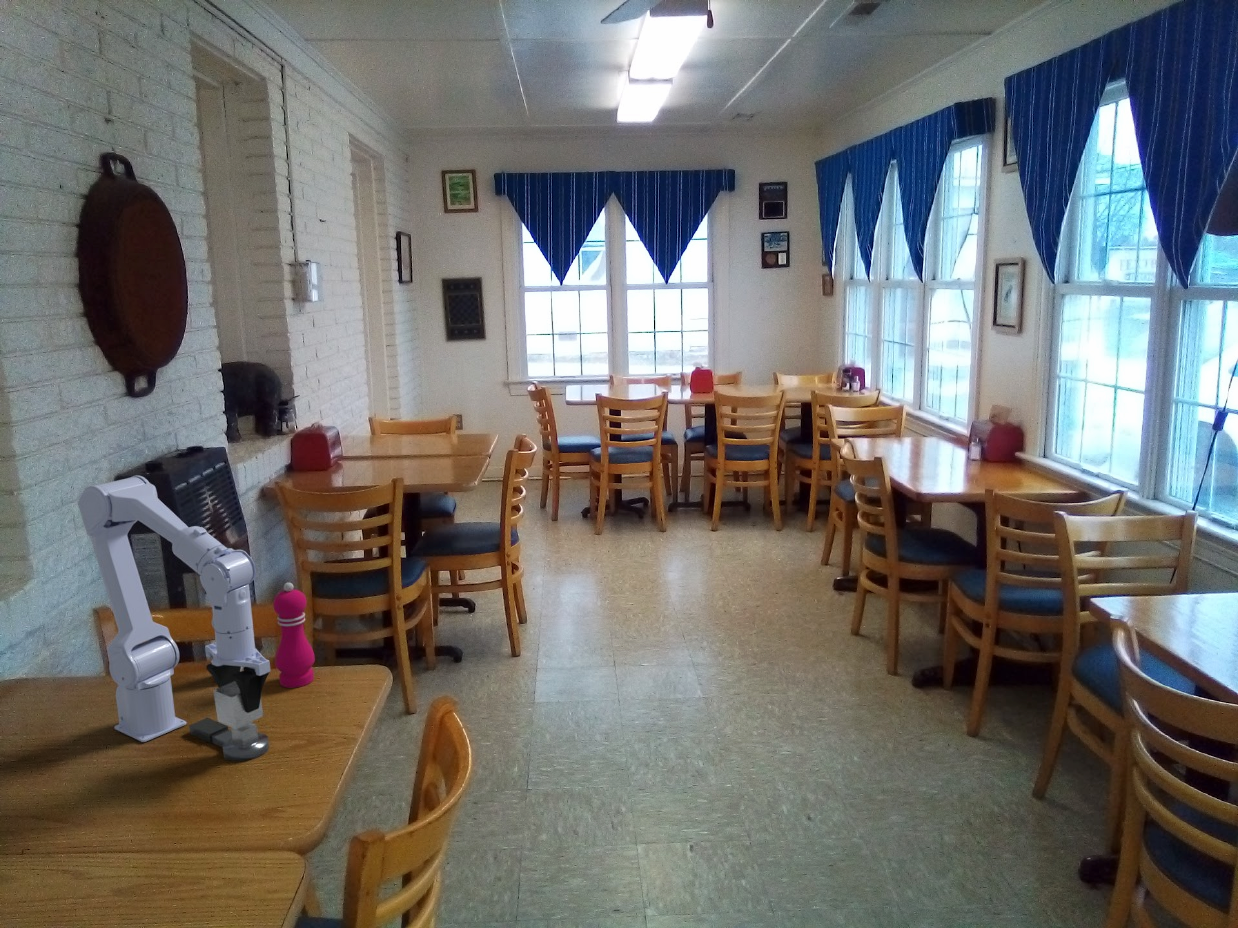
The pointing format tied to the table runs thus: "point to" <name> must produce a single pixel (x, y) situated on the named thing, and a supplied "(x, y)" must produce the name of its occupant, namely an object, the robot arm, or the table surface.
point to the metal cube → (233, 707)
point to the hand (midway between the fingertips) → (242, 705)
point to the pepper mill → (293, 639)
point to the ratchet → (232, 739)
